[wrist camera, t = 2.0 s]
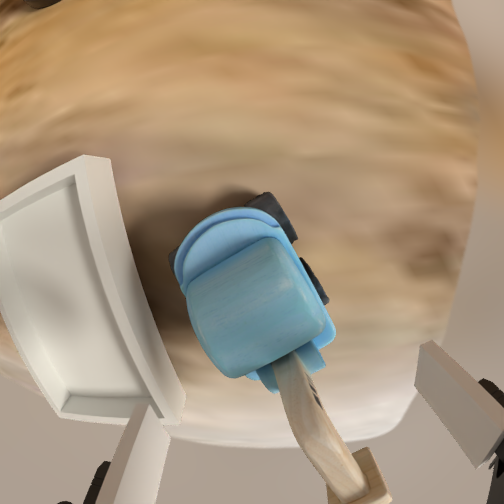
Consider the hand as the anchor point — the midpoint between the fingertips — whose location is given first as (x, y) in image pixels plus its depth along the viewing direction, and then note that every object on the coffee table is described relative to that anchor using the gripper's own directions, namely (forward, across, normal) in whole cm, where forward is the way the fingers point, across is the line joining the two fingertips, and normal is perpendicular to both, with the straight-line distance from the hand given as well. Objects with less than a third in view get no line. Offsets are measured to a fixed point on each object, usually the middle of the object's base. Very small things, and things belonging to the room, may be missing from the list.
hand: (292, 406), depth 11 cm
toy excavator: (+12, 0, 0) cm, 12 cm away
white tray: (+12, -17, +4) cm, 21 cm away
